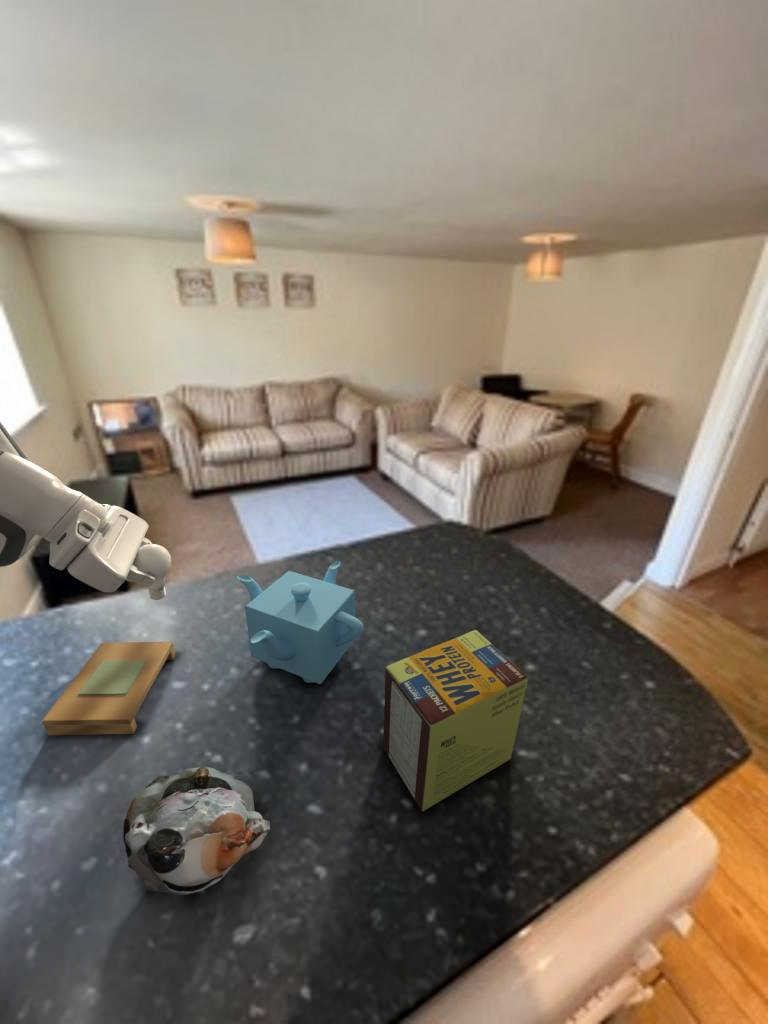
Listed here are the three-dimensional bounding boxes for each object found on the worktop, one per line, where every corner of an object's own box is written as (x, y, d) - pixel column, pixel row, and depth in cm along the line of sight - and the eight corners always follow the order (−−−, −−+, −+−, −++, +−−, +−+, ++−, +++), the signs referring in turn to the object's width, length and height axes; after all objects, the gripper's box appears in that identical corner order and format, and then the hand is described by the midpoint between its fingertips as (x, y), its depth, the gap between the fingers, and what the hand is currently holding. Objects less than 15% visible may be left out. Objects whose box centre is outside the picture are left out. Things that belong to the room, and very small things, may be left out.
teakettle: (370, 679, 75) (371, 608, 69) (255, 710, 69) (245, 635, 63) (339, 613, 91) (338, 550, 85) (244, 632, 85) (235, 566, 79)
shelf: (48, 735, 64) (41, 719, 63) (106, 655, 79) (101, 641, 77) (133, 734, 65) (128, 718, 63) (175, 655, 79) (172, 640, 78)
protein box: (512, 759, 63) (530, 676, 56) (421, 814, 56) (430, 727, 49) (465, 705, 71) (476, 627, 64) (380, 747, 64) (383, 665, 57)
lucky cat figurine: (264, 776, 59) (284, 749, 50) (248, 895, 51) (268, 891, 42) (142, 769, 55) (138, 738, 46) (104, 898, 47) (89, 894, 38)
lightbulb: (164, 611, 79) (153, 557, 74) (131, 606, 80) (118, 553, 75) (184, 590, 85) (175, 539, 80) (153, 586, 86) (143, 535, 81)
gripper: (89, 512, 83) (156, 553, 89) (45, 571, 65) (133, 616, 72) (110, 488, 82) (176, 531, 89) (72, 542, 64) (158, 590, 71)
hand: (157, 570), depth 80 cm, fingers closed on lightbulb, 6 cm apart
